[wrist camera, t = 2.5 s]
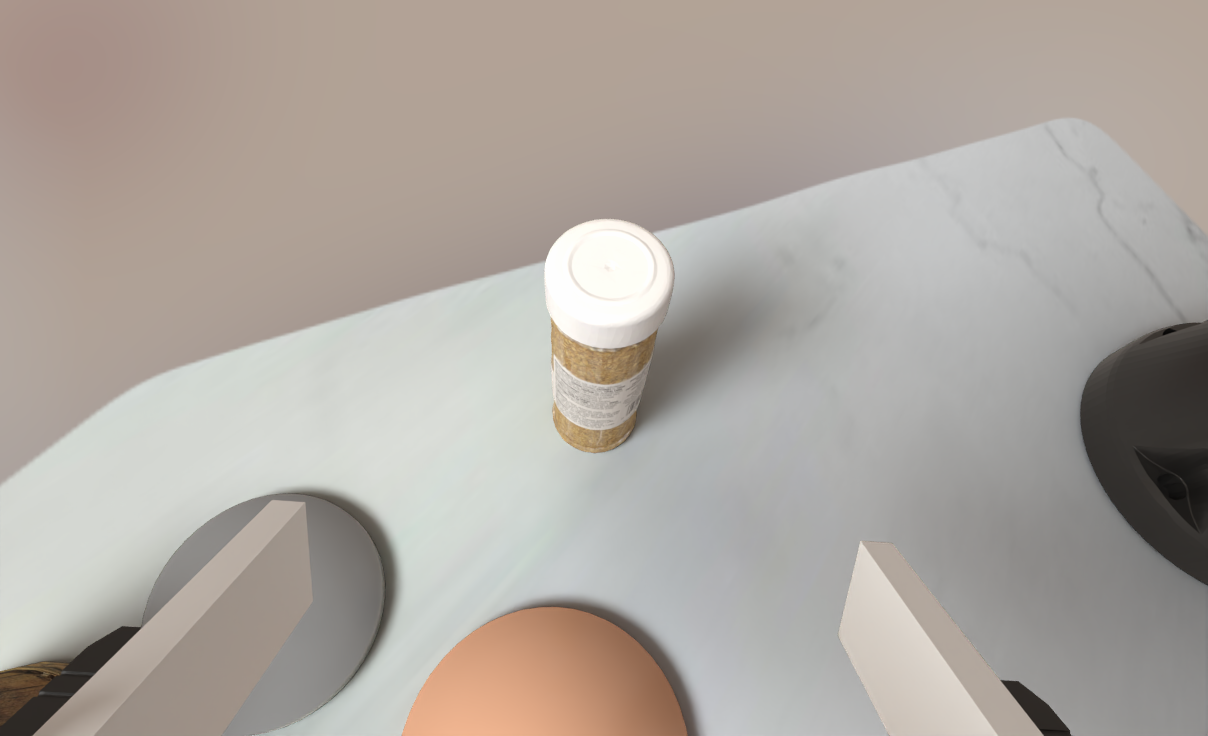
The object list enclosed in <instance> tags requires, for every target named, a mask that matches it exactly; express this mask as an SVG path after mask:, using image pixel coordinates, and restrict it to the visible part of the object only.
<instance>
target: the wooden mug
mask: <svg viewBox="0 0 1208 736" xmlns="http://www.w3.org/2000/svg"><path fill="white" fill-rule="evenodd" d="M69 664H70V663H57V662H40V663H36V664H31V665H26V666H21V667H17V668H12V669H8V670H4V671H0V727H1V726H2V725H3V724H4V723H5V722H6V721H7V720H9V719H10V718H11V717H12V716H13V715H14V714H15V713H16V712H17V711H18V710H19V709H21V708H22V707H23V706H24V705H25V704H26V703H27V702H28V701H29V700H30V699H31V698H33V697H37V696H38V695H39V691H40V690H41V689H42V688H43V687H45V686H46V685H47V684H48V683H49V682H50V681H51V680H52V679H53V678H54V677H55V676H60V675H61V672H62V670H63V669H64V668H65V667H66V666H67V665H69Z"/></svg>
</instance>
